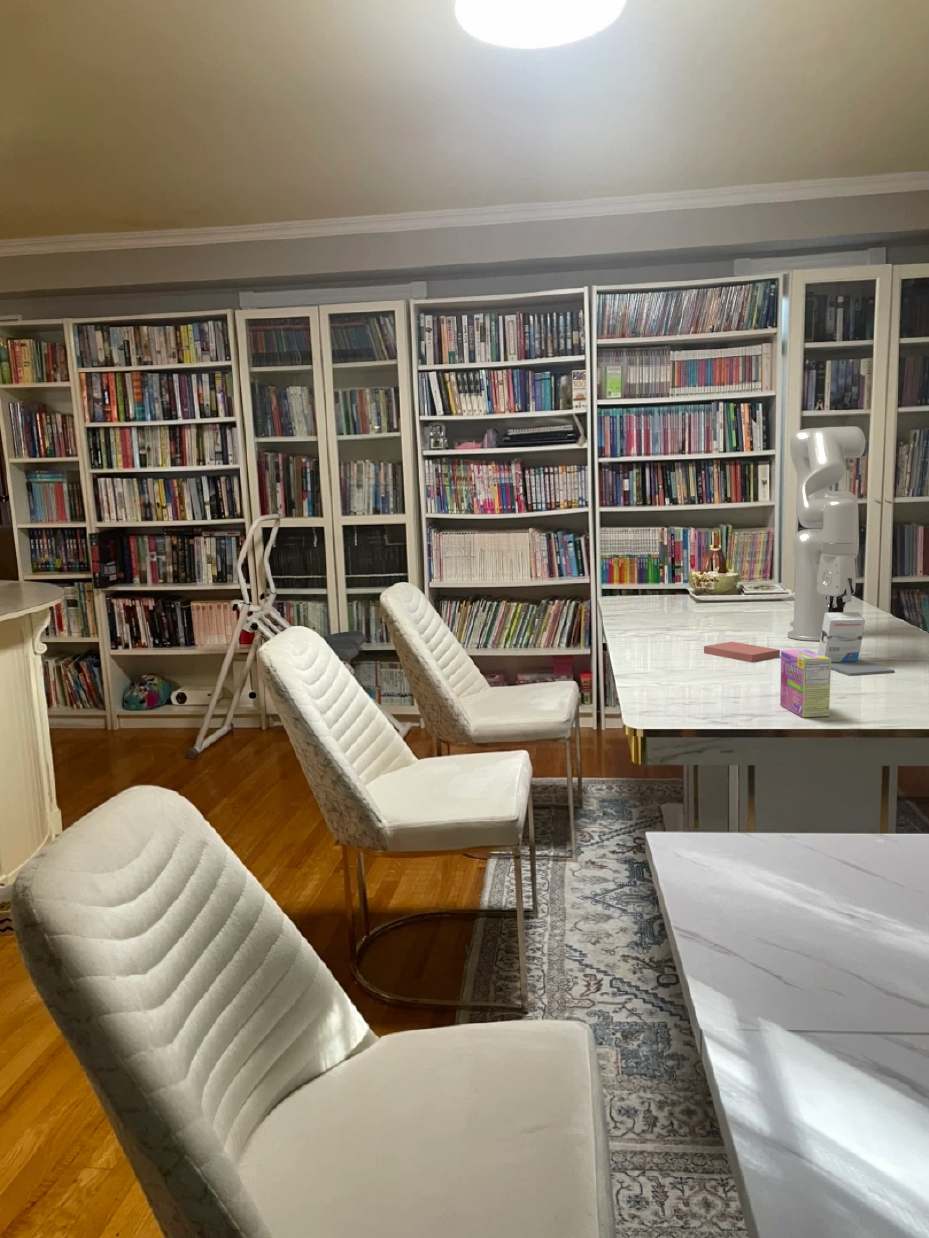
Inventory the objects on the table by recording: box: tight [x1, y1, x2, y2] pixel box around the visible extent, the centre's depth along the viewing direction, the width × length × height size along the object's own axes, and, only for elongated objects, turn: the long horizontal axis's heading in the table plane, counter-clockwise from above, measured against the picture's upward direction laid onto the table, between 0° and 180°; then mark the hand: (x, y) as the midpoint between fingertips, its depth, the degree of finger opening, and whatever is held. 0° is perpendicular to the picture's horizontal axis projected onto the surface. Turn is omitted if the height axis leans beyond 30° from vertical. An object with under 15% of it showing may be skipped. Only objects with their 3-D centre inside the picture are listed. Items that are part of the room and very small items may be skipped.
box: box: [779, 648, 832, 718], centre depth 181 cm, size 10×6×12 cm, turn 5°
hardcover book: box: [703, 641, 781, 663], centre depth 240 cm, size 16×11×2 cm
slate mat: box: [831, 658, 896, 677], centre depth 223 cm, size 18×12×1 cm, turn 11°
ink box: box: [817, 611, 866, 662], centre depth 225 cm, size 8×5×12 cm, turn 89°
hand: (835, 622), depth 227 cm, fingers closed
